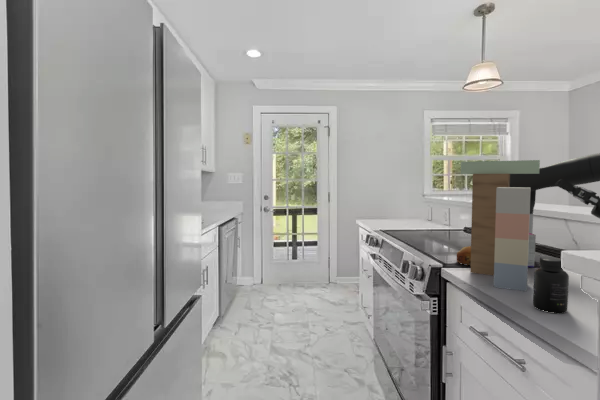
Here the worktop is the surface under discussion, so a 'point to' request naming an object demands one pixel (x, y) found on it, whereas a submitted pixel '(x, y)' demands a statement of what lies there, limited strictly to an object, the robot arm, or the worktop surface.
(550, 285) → the supplement bottle
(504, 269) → the brick tower
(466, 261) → the bread roll
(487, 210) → the walnut stand
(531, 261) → the supplement box
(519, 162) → the long brick
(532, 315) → the worktop surface
